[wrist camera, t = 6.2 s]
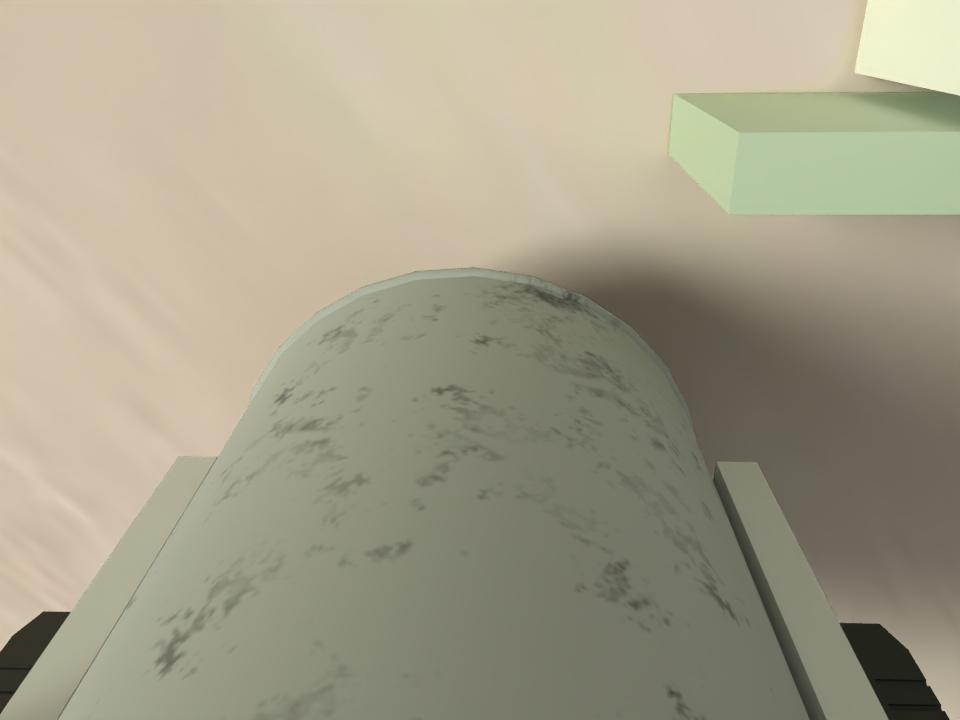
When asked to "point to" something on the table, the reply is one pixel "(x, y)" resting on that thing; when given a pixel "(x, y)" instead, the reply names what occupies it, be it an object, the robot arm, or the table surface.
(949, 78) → the pusher
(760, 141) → the pale green open box
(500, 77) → the table surface
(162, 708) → the grey speckled cylinder
